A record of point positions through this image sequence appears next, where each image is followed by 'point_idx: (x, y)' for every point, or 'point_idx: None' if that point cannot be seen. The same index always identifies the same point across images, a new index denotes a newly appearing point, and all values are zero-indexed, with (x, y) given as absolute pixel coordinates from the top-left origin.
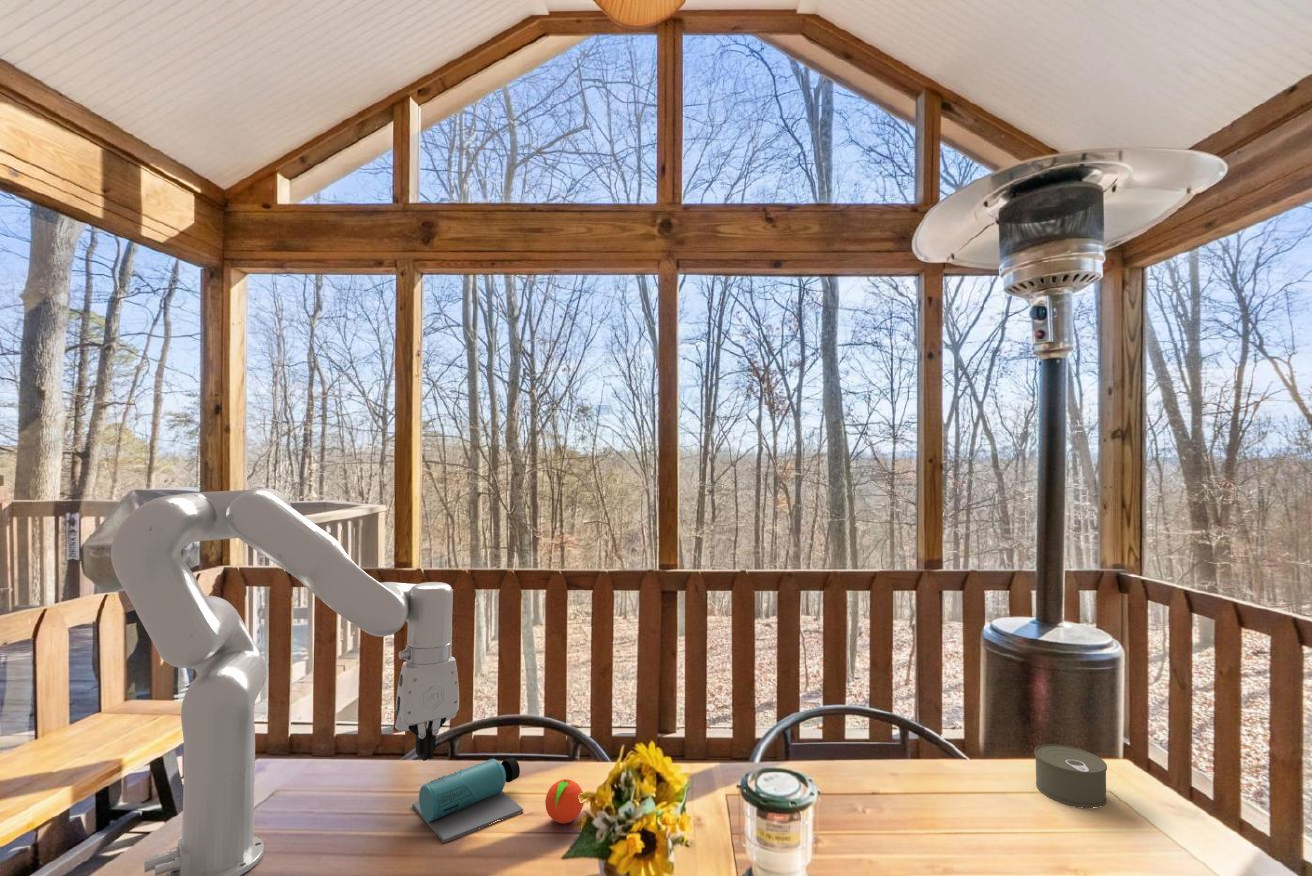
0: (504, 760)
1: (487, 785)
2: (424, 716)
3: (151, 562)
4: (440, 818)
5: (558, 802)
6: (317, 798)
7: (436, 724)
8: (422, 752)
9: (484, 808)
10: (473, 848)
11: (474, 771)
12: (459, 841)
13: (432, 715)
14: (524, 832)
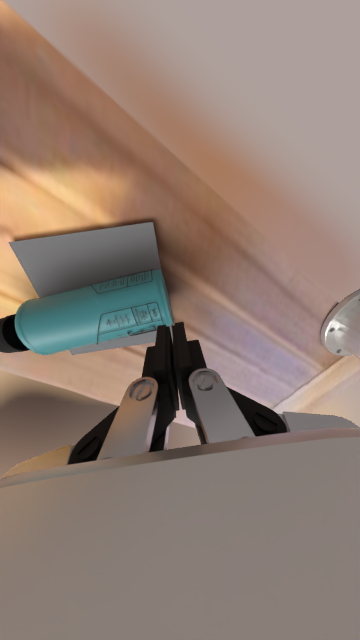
0: (14, 347)
1: (57, 295)
2: (286, 528)
3: None
4: None
5: None
6: (249, 387)
7: (132, 424)
8: (187, 341)
9: (80, 279)
10: (109, 171)
11: (71, 321)
12: (129, 212)
13: (171, 523)
14: (7, 165)
